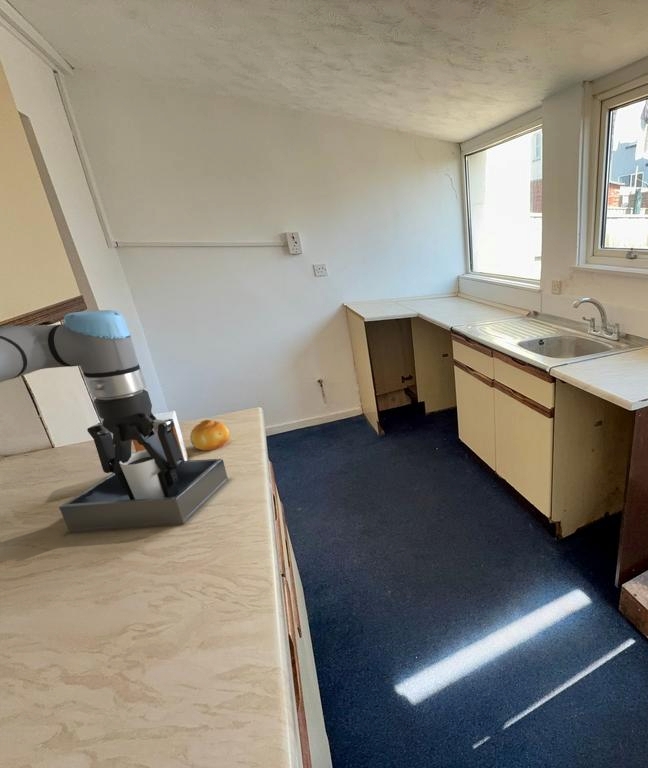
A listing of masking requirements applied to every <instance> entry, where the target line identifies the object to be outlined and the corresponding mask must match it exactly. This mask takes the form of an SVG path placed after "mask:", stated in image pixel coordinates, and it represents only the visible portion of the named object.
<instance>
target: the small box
mask: <svg viewBox="0 0 648 768" xmlns="http://www.w3.org/2000/svg"><path fill="white" fill-rule="evenodd" d="M152 414H153V415H154V416H155V417H156V419H158V420H163V421H166V420H168V419H171V420H173V422H174V423H173V431H174V434H175V437H176V439H177V442H178V445H179V448H180V450H181V453H182V456H183V459H184V461H188V453H187V449H186V445H185V441H184V439H183V434H182V430H181V427H180V424H179V420H178V418H177V416H178V415H177V412H176V411H175V410H172V411H171V410H170V411H166V412H160V413H152ZM155 429H156V428H155V426H154V430H155ZM156 433H157V434H158V432H156ZM147 437H148V436H147ZM145 438H146V437H145ZM158 439H159V437H158ZM159 441H160V440H159ZM132 444H133V447H134V450H135V453H136V452H139V451H144V450H146V449H145V448H144V446H143V445H140V444H139V443H138V442H137V440H132Z"/></svg>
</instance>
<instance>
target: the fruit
mask: <svg viewBox="0 0 648 768" xmlns="http://www.w3.org/2000/svg"><path fill="white" fill-rule="evenodd" d="M189 436H190V437H189V440H190V443H191V445H192V446H193V447H195V448H196V449H198V450H201V451H212V450H216V449H218V448H220V447H222V446H224V445H225V444H226V443H227V442H228V441H229V439H230V430H229V428H228V427H227V425H225V424H224V423H222V422H220V421H218V420H212V419H204V420H201V421H200V422H199V423H198V424H196V425H195V426H194V427H193V428H192V430H191V432H190V435H189Z"/></svg>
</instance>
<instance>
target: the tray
mask: <svg viewBox="0 0 648 768" xmlns="http://www.w3.org/2000/svg"><path fill="white" fill-rule="evenodd" d="M175 470H176V474H177V477H178V481H177V482H176V485H177V489H178V492H179V493H178V494H177V495H176V496H175V497H165V498H150V499H135V500H130V498H129V496H128V493H127V490H126V488H123V487H122V486H121V483H120V480H119V477H118V475H116V474H115V473H112V472H111V473H109V475H107V476H105V477H104V478H102V479H101V480H99V481H98V482H96V483H95V484H93V485H92V486H90V487H88V488H87V489H85V490H83V491H82V492H80V493H79V494H77V495H75V496H74V497H73V498H71V499H69V500H67V501H66V502H64V503H62V504H61V505H60V506H58V508H59V510H60V513H61V515H62V518H63V520H64V522H65V525H66V527H67V529H68V531H69V533H70V534H75V533H86V532H87V533H88V532H101V531H112V530H113V531H114V530H128V529H139V528H152V527H153V528H154V527H165V526H166V527H167V526H178V525H179V526H181V525H185V524H186V523H187V522H188V521H189V520H190V519H192V517H193V516H194V515H195V514H196V513H197V512H199V510H200V509H201V508H202V507H203V506H204V505H205V504H207V502H208V501H210V500H211V498H212V497H213V496H214V495H216V494H217V493H218V492H219V491H220V490H221V489H222V487H224V485H226V484H227V483H228V481H229V479H228V474H227V470H226V467H225V462H224V458H207V459H193V460H192V459H190V460H189V459H188V460H187V461H184V462H183V463H182V464H181V465H179V466H178V467H177V468H175Z"/></svg>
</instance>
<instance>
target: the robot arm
mask: <svg viewBox="0 0 648 768" xmlns="http://www.w3.org/2000/svg"><path fill="white" fill-rule="evenodd" d="M63 321H64V323H61V324H43V325H4V326H0V383H3V382H5V381H9V380H13V379H16V378H20V377H22V376H25V375H28V374H31V373H34V372H37V371H40V370H44V369H54V368H67V367H70V368H71V367H72V368H73V367H80V368H81V369H80V370H81V371H82V373H83V377H84V378H85V381H86V384H87V386H88V389H89V391H90V395H91V397H92V398H94V400H93V404H94V408H95V410H96V413H97V414H98V417H99V418H100V419H102V421H101V422H98V423H95V424H93V425H92V426H90V427H88V428H87V429H86V431H87V432H88V434H89V435H90V436H91V438H92V440H93V442H94V446H95V449H96V452H97V455H98V458H99V461H100V465H101V469H102V471H103V473H105V474H112V473H115V474H116V475H118V477H119V480H120V483H121V486H122V487H123V488H126V490H127V493H128V496H129V498H130V500H135V498H134V496H133V494H132V491H131V489H130V487H129V484H128V482H127V480H126V477H125V475H124V473H123V470H122V468H121V466H120V464H119V462H120V461H121V462H122V463H126V462H128V461H129V459H130V458H131V454H132V447H133V446H132V444H133V441H132V440H137V442H138V443H139V444H140V445H143V446H144V448H145V449H146V450H147V452H148V453H149V455H150V456H151V457H152V459H154V460H155V463H156V464H157V466H158V467H159V469H160V470H161V471H160V472H159V473H158V478H159V481H160V484H161V487H162V490H163V493H164V496H165V497H175V496H176V495H177V494H178V493H179V492H178V489H177V485H176V482H177V481H178V477H177V474H176V470H175V468H177V467H178V466H179V465H181V464H182V463H183V462H184V459H183V456H182V453H181V450H180V448H179V445H178V442H177V439H176V437H175V434H174V431H173V423H174V422H173V420H171V419H168V420H166V421H163V420H158V419H156V417H155V416H154V415H153V414H154V413H153V411H152V409H153V404H152V401H151V397H150V394H149V391H148V390H146V388H147V384H146V381H145V378H144V374H143V372H142V368H141V367H140V364H139V361H138V358H137V354H136V351H135V347H134V343H133V339H132V333H131V332H130V330H129V327H128V325H127V323H126V320H125V318H124V315H123V314H122V313H121V312H119V311H117V310H114V309H113V310H111V309H101V310H100V309H99V310H98V309H97V310H85V311H76V312H70V313H69V312H68V313H67V314H65V315H64V316H63ZM154 426H155V428H156V429H155V430H154ZM156 432H158V434H157V433H156ZM147 436H148V437H147ZM145 437H146V438H145ZM158 437H159V439H158ZM159 440H160V441H159Z"/></svg>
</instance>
